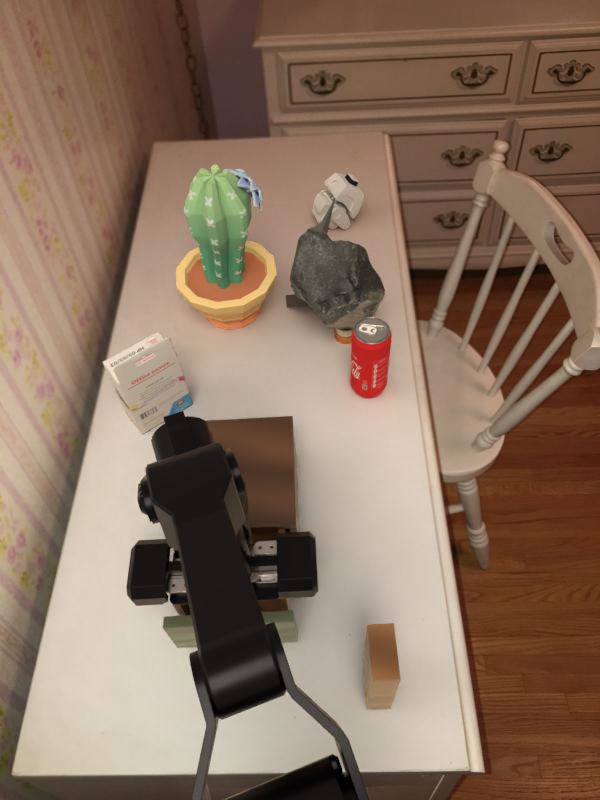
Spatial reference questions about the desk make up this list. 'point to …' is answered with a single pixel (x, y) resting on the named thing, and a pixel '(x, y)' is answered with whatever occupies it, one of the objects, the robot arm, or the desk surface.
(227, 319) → the potted cactus
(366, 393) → the beverage can
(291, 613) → the drawer
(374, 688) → the stand
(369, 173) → the desk surface
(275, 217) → the desk surface
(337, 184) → the white faceted figurine
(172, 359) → the ink box
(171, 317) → the desk surface
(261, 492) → the cabinet
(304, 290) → the narwhal figurine
